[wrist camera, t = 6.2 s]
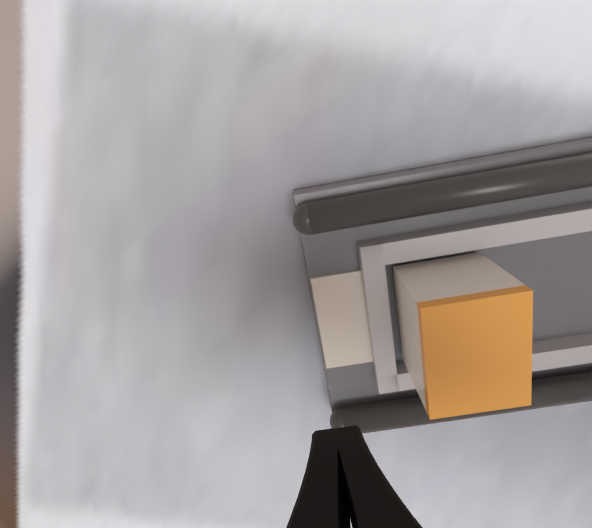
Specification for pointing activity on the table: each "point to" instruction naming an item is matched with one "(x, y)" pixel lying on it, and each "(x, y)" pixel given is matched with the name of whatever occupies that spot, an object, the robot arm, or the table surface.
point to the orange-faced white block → (465, 334)
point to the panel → (441, 244)
